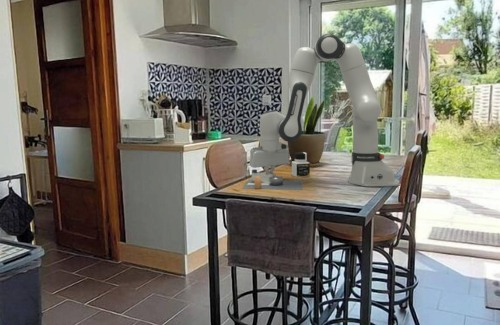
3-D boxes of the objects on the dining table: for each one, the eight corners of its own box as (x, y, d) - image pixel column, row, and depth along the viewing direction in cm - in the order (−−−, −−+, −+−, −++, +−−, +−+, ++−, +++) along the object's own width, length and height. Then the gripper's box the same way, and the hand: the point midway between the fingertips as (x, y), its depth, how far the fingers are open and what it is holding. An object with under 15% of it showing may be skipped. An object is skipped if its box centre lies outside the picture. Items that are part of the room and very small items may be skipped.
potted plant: (327, 168, 237) (328, 95, 231) (288, 168, 238) (288, 96, 232) (322, 162, 258) (322, 95, 252) (286, 162, 259) (286, 96, 252)
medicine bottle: (296, 177, 213) (296, 153, 211) (291, 175, 220) (291, 151, 218) (309, 176, 215) (310, 152, 213) (304, 174, 221) (304, 151, 220)
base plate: (303, 182, 200) (303, 169, 199) (302, 192, 181) (302, 178, 180) (248, 181, 204) (248, 169, 203) (241, 191, 185) (241, 177, 184)
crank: (285, 183, 192) (285, 172, 192) (277, 185, 188) (277, 174, 187) (256, 179, 203) (256, 168, 202) (248, 181, 198) (248, 170, 197)
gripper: (254, 148, 190) (254, 178, 192) (290, 144, 200) (290, 173, 202) (246, 146, 195) (247, 176, 197) (282, 143, 206) (282, 171, 208)
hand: (269, 175), depth 200 cm, fingers closed
